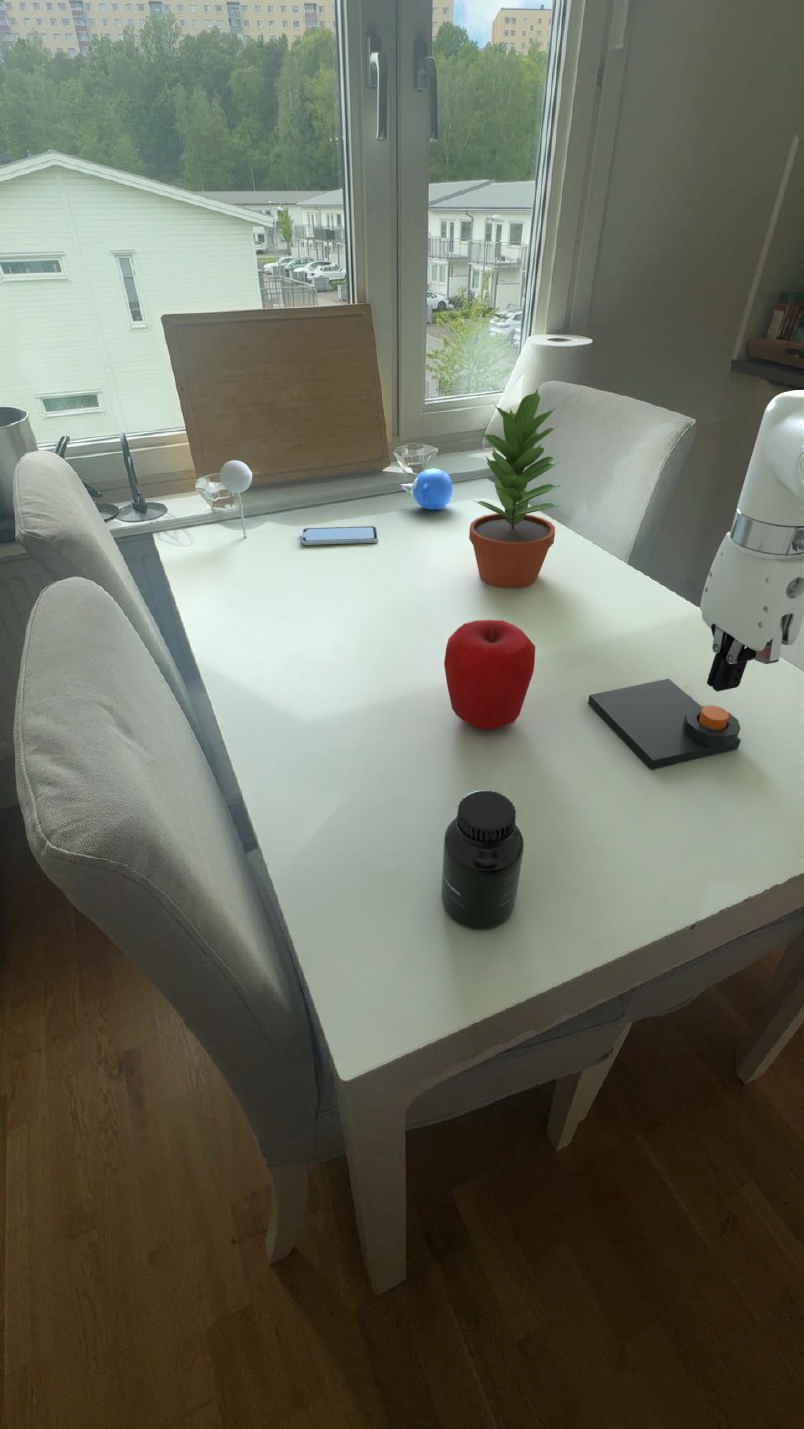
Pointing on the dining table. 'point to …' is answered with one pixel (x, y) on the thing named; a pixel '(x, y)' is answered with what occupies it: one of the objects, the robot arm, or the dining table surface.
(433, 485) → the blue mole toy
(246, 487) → the lollipop
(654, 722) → the scale
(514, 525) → the potted plant
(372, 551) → the dining table surface
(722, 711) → the button
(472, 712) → the apple
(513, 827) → the supplement bottle
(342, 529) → the smartphone
